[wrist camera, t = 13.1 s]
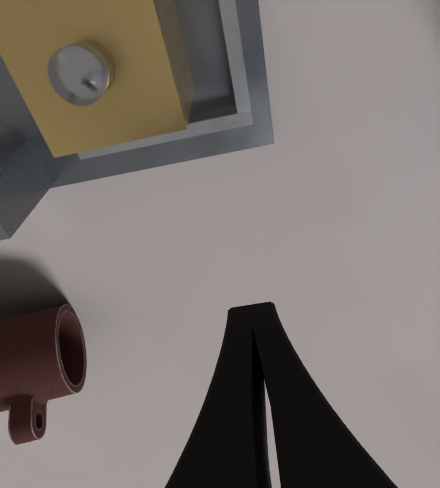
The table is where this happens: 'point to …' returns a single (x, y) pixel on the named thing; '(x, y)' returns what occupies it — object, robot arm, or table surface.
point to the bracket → (39, 366)
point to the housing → (98, 69)
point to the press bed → (157, 147)
